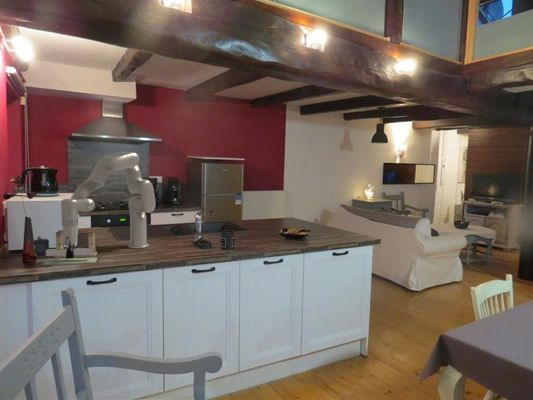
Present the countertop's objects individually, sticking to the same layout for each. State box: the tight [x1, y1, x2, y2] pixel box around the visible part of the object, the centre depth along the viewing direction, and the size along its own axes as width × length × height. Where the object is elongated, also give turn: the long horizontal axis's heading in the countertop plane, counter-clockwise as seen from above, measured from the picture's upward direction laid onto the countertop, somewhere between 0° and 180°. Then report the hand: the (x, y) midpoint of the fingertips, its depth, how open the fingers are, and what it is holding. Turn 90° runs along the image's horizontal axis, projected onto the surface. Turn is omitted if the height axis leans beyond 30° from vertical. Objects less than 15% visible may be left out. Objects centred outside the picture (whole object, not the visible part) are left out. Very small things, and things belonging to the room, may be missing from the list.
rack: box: [54, 229, 98, 259], centre depth 203 cm, size 6×20×14 cm, turn 105°
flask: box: [33, 235, 50, 257], centre depth 201 cm, size 9×3×11 cm, turn 117°
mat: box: [41, 256, 98, 266], centre depth 192 cm, size 9×24×1 cm, turn 105°
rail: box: [46, 247, 94, 257], centre depth 192 cm, size 3×22×3 cm, turn 105°
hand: (70, 257), depth 192 cm, fingers closed on rail, 3 cm apart
